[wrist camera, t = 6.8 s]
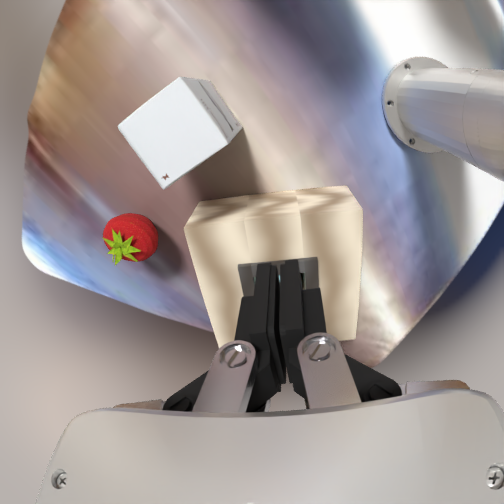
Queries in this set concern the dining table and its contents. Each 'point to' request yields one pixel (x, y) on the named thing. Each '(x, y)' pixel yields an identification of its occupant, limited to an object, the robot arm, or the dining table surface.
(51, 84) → the dining table surface
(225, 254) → the collar block
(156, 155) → the supplement box
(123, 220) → the strawberry
